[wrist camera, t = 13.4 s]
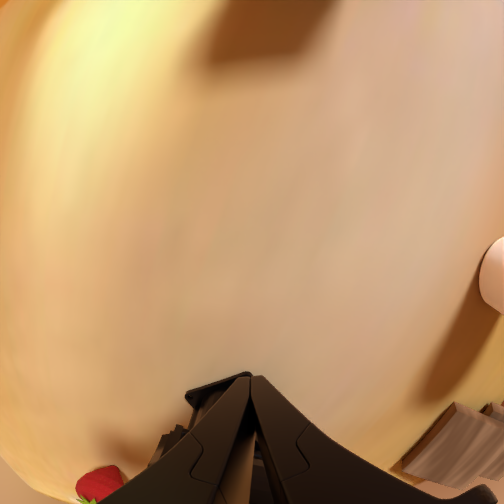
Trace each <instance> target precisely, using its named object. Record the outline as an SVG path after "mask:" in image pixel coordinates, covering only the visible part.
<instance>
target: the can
mask: <svg viewBox="0 0 504 504" xmlns="http://www.w3.org/2000/svg"><path fill="white" fill-rule="evenodd" d="M479 288H480V293H481V296H482V298H483V300H484V301H485V302H486V303H487V304H489V305H490V306H491V307H493V308H494V309H496V310H497V311H498V312H500V313H501V314H503V315H504V237H502V238H500V239H498V240H497V241H496V242H495V243H494V244H492V246H491V247H490V248H489V249H488V251H487V252H486V254H485V256H484V258H483V261H482V264H481V268H480V273H479Z"/></svg>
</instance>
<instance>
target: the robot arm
mask: <svg viewBox="0 0 504 504" xmlns="http://www.w3.org/2000/svg"><path fill="white" fill-rule="evenodd" d="M189 395H190V396H192V397H190V396H189ZM185 399H186V400H187V401H188V402H189V404H190V405H191V406H192V407H193V408H194V411H193V414H192V417H191V420H190V423H189V426H188V429H185V428H183V426H180V425H178V424H176V427H175V430H174V431H171V432H170V434H166V435H162V437H161V440H160V442H159V445H158V447H157V449H156V451H155V453H154V455H153V457H152V459H151V461H150V462H149V464H148V467H147V468H146V469H145V470H144V471H142V472H141V473H140V474H138V475H137V476H135V477H134V478H133V479H131V480H130V481H128V482H127V483H126V484H124V485H123V486H121V487H120V488H118V489H117V490H115V491H114V492H112V493H111V494H109V495H108V496H106V497H105V498H103V499H102V500H100V501H99V502H97V503H96V504H496V503H497V502H498V500H497V498H496V496H495V495H494V494H493V492H492V491H491V490H490V489H489V488H488V487H487V486H486V485H485V484H481V485H478V486H476V487H474V488H472V489H470V490H468V491H466V492H465V493H463V494H461V495H459V496H457V497H454V498H451V499H439V498H436V497H434V496H432V495H430V494H427V493H425V492H423V491H421V490H419V489H417V488H415V487H413V486H411V485H409V484H407V483H405V482H403V481H401V480H400V479H398V478H396V477H394V476H392V475H390V474H388V473H387V472H385V471H383V470H381V469H379V468H378V467H376V466H374V465H372V464H371V463H369V462H367V461H366V460H364V459H362V458H360V457H359V456H357V455H356V454H354V453H352V452H351V451H349V450H347V449H346V448H344V447H343V446H341V445H340V444H338V443H337V442H335V441H334V440H332V439H331V438H329V437H328V436H327V435H326V434H324V433H323V432H322V431H321V430H320V429H318V428H317V427H316V426H315V425H314V424H313V423H311V422H310V421H309V420H308V419H307V418H306V417H305V416H304V415H303V414H302V413H301V412H300V411H299V410H298V409H296V408H295V407H294V406H293V405H292V404H291V403H290V402H289V401H288V400H287V399H286V398H285V397H284V396H283V395H282V394H281V393H280V392H279V391H278V390H277V389H276V388H275V387H274V386H273V385H272V384H271V383H270V382H269V381H268V380H267V379H266V378H265V377H264V376H262V375H260V376H253V375H252V374H251V373H250V372H242V373H240V374H237V375H234V376H231V377H228V378H226V379H223V380H220V381H217V382H214V383H211V384H208V385H205V386H202V387H199V388H195V389H192V390H189V391H187V392H186V394H185Z"/></svg>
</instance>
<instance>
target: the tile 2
mask: <svg viewBox="0 0 504 504" xmlns="http://www.w3.org/2000/svg"><path fill="white" fill-rule="evenodd" d="M483 414H484V415H486V416H489V417H491V418H494V419H496V420H498V421H501V422H503V423H504V407H503V406H500V405H498V404H495V403H493V402H491V403H490V405H489V406H488V407H487V409H486V410H485V411H484V413H483ZM479 476H480V477H484V478H488V479H492V480H496V481H499V480H500V479H501V478H502V477H503V476H504V450H503V452H502V453H501V454H500V455H499V456H498V457H497V458H496V459H495V460H494V461H493V462H492V463H491V464H490V465H489V466H488V467H487V468H486V469H485V470H484V471H483V472H482V473H481V474H480V475H479Z"/></svg>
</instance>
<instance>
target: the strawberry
mask: <svg viewBox="0 0 504 504" xmlns="http://www.w3.org/2000/svg"><path fill="white" fill-rule="evenodd" d="M123 485H124V483H123V480H122V477H121V475H120V473H119V469H118V468H117V467H116V466H108V467H106V468H101V469H97V470H95V471H92V472H89V473H86V474H85V475H84V476H83V477H81V478H80V479H79V480H78V481H77V484H76V487H75V489H76V492H77V495H78V496H79V497H80V498H81V499H82V500H83V501H81V500H78V499H76V500H78V501H79V502H81V503H82V504H96V503H97V502H99V501H100V500H102V499H103V498H105V497H106V496H108V495H109V494H111V493H112V492H114V491H115V490H117V489H118V488H120V487H121V486H123Z"/></svg>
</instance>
